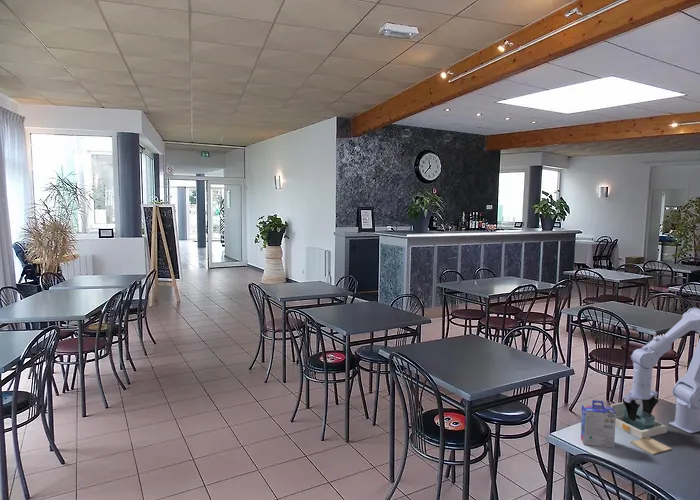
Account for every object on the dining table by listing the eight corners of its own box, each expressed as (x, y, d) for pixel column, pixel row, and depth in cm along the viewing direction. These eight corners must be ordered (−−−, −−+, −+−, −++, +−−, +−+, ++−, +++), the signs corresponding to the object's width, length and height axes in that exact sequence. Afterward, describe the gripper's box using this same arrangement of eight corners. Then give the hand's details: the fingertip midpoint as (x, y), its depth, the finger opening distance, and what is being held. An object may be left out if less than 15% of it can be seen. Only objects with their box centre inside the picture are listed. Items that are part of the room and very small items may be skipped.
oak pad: (648, 438, 165) (648, 437, 165) (671, 449, 157) (671, 448, 157) (630, 442, 161) (630, 441, 161) (652, 454, 154) (652, 453, 154)
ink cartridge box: (609, 440, 163) (612, 400, 162) (615, 448, 158) (617, 407, 156) (579, 437, 165) (581, 397, 164) (583, 445, 160) (586, 404, 158)
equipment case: (636, 417, 180) (636, 411, 180) (666, 432, 169) (667, 425, 168) (610, 423, 175) (611, 417, 175) (640, 439, 164) (641, 432, 164)
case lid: (633, 416, 181) (635, 399, 180) (638, 418, 179) (639, 401, 178) (609, 422, 176) (610, 404, 175) (613, 424, 174) (614, 406, 174)
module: (633, 422, 176) (634, 407, 176) (653, 432, 169) (655, 416, 168) (623, 424, 175) (624, 409, 174) (644, 434, 167) (645, 418, 167)
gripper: (645, 375, 176) (642, 410, 178) (617, 381, 171) (615, 416, 173) (663, 382, 170) (660, 418, 171) (635, 388, 164) (632, 425, 166)
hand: (639, 418), depth 171 cm, fingers open, 7 cm apart
